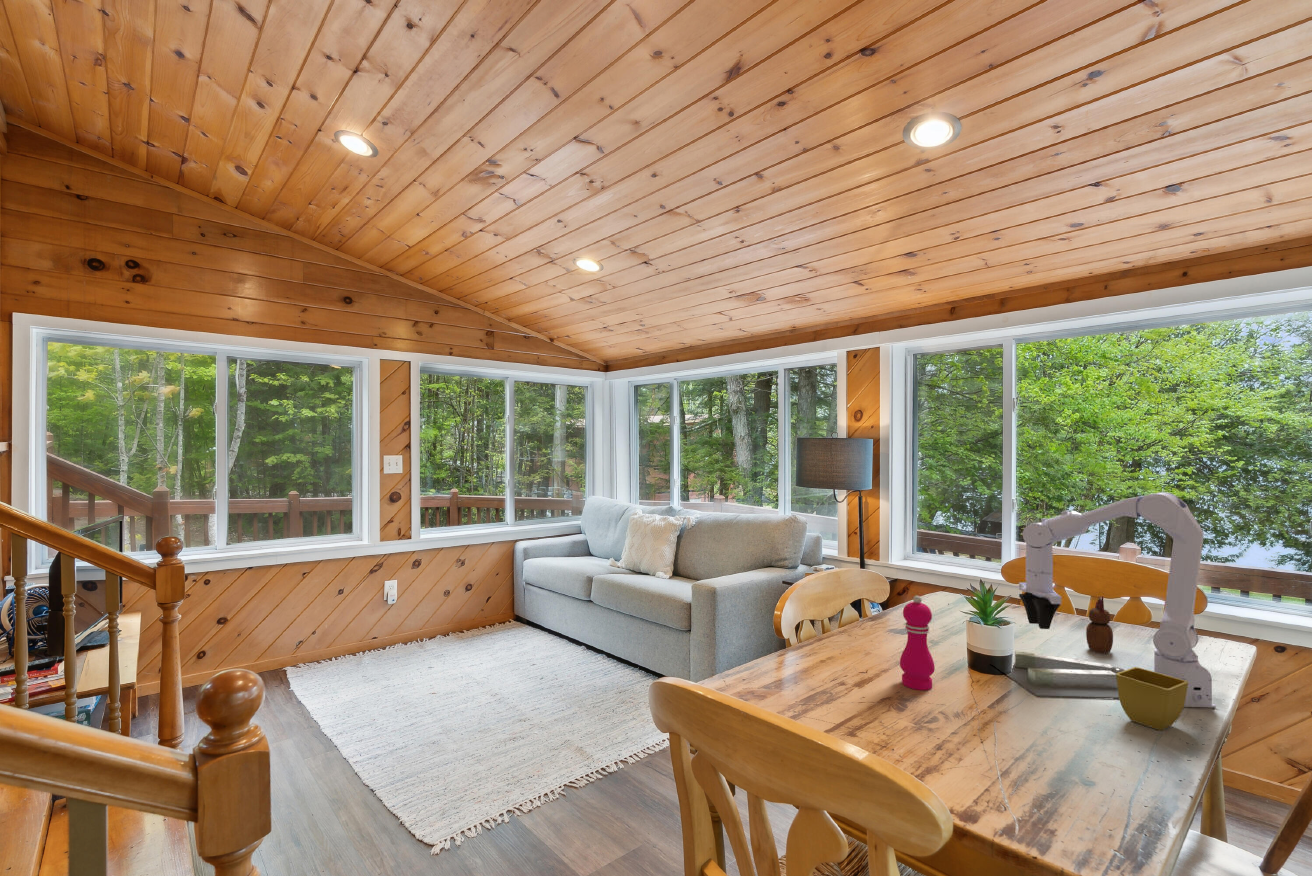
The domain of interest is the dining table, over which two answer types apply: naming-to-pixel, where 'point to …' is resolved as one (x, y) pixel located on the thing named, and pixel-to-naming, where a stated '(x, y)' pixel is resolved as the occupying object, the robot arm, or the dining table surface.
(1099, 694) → the mat
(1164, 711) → the flower pot
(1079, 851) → the dining table surface
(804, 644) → the dining table surface
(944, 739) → the dining table surface
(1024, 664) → the hinged arm
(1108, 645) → the wooden figurine
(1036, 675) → the fixed arm
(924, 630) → the pepper mill
